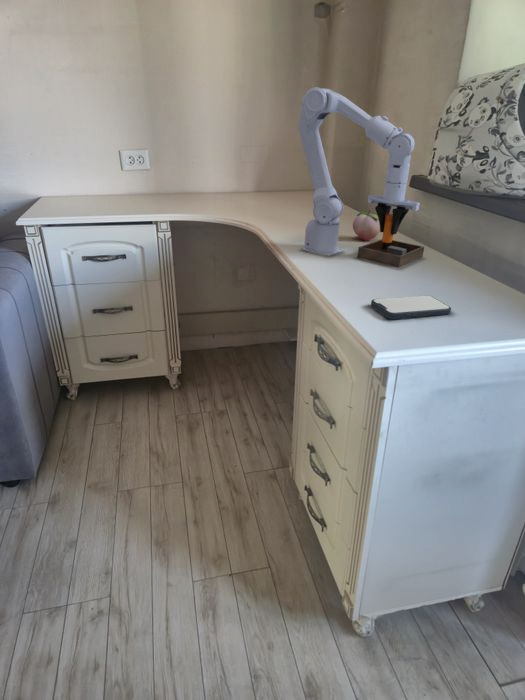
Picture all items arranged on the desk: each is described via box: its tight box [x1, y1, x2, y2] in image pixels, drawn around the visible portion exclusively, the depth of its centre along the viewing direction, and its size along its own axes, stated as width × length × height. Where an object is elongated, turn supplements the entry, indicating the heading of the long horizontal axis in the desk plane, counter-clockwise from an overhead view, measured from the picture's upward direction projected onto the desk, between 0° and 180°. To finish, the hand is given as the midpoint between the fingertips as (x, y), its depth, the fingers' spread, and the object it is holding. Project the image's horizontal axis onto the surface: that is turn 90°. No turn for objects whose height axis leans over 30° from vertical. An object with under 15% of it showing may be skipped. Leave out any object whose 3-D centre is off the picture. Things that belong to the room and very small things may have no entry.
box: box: [357, 238, 425, 268], centre depth 143 cm, size 13×15×4 cm
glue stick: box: [381, 213, 394, 243], centre depth 137 cm, size 3×3×8 cm
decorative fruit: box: [352, 209, 381, 242], centre depth 159 cm, size 9×8×10 cm
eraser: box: [387, 246, 407, 256], centre depth 146 cm, size 5×3×2 cm, turn 49°
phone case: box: [370, 295, 452, 320], centre depth 108 cm, size 9×2×16 cm
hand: (388, 232), depth 138 cm, fingers closed on glue stick, 3 cm apart
